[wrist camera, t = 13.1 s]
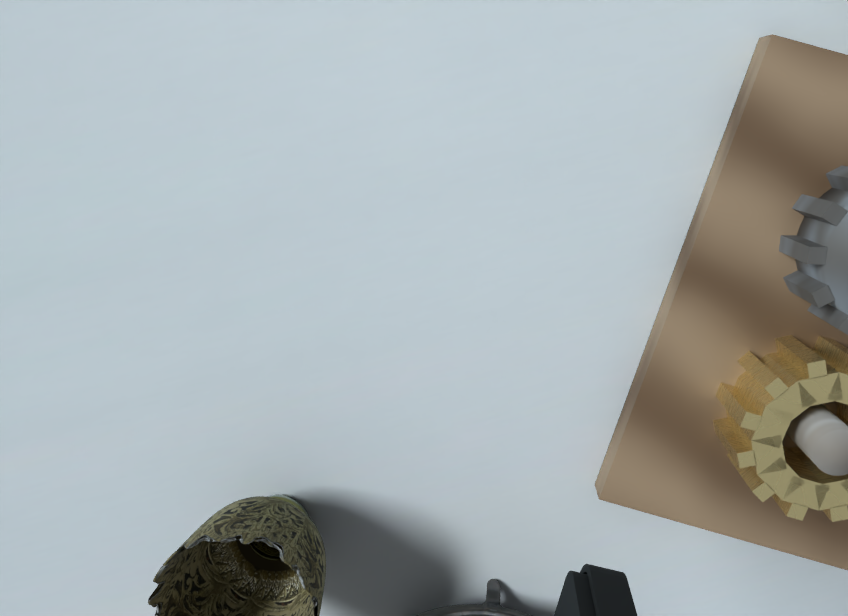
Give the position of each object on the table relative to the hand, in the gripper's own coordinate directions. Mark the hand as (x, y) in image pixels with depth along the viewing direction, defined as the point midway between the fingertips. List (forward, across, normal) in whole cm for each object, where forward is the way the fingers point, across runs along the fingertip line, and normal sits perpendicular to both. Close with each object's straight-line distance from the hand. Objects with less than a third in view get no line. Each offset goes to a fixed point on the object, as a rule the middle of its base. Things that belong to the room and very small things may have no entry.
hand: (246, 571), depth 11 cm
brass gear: (+24, -19, +3) cm, 30 cm away
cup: (+25, +4, +16) cm, 30 cm away
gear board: (+25, -19, -1) cm, 32 cm away
